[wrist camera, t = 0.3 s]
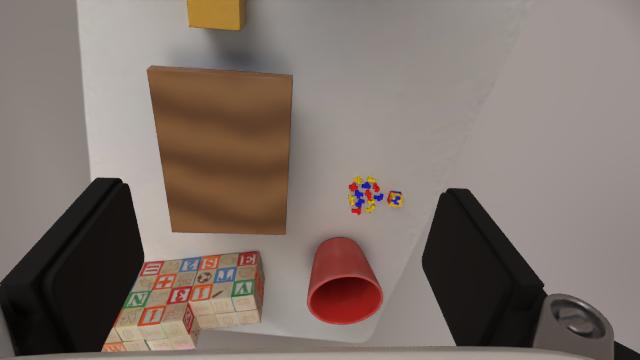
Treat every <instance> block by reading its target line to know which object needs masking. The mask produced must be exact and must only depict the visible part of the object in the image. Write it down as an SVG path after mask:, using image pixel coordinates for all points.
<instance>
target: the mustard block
mask: <svg viewBox="0 0 640 360" xmlns="http://www.w3.org/2000/svg"><path fill="white" fill-rule="evenodd" d="M187 7H188V18H189V27H195V28H208V29H221V30H234V31H240V30H241V28H242V27H243V26H244V24H245V0H187Z"/></svg>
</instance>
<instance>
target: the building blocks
mask: <svg viewBox="0 0 640 360" xmlns="http://www.w3.org/2000/svg"><path fill="white" fill-rule="evenodd" d="M354 182H357V184H360V183H362V182H363V179H361V177H360V176H357V178H354ZM368 182H372V183H374V185H373V189H374V190H375V192H378V191H379V190H380V188H379V186H377V183H376V179H372V177H371V176H368V179H367V182H365V184H362V186H361V187H362V188H366V189H370V187H371V186H370V185H369V183H368ZM349 189H351V191H353V192H354V190H355V189H357V190H355V196H357V198H359V200H358V203H356V204H355V205H356V207H358V209H352V213H357V214H358V215H360V214H361V206H362V204H361V203H364V202H365V201H364V200H362V199H360V196H362V197H363V195H364V194H363V193H360V192H359V190H358V186H356V183H353V184H352V185H349ZM365 195H366V196H367V198H368V201H367V203H368V204H372V207H370V206H369V208H368V209H367V208H366V209H365V212H370V213H371V210H372V211H374V209H375V205H373V204H374V203H375V200H374V199H377V201H380V200H382V199H383V196H384V195H383V194H380V196H376V195H374V198H371V195H372V194H371V193H370V191H369V190H366V193H365ZM348 199H350V205H352V206H353V204H354V203H353V201H354V196H352V195H349V196H348ZM403 199H404V198H403V196H402V194H401V192H395V191H390V193H389V196H388V199H387V201H388V203H389V206H391V207H401V205H402V202H403Z"/></svg>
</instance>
